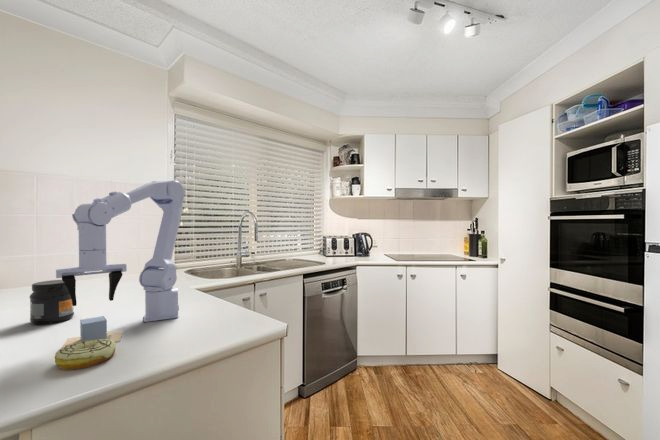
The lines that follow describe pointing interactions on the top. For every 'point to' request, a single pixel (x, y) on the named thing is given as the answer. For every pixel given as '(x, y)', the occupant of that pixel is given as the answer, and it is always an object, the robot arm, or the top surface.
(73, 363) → the decorated donut
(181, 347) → the top surface
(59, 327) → the top surface
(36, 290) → the supplement container
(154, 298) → the robot arm
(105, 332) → the powder blue cube
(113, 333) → the letter card
